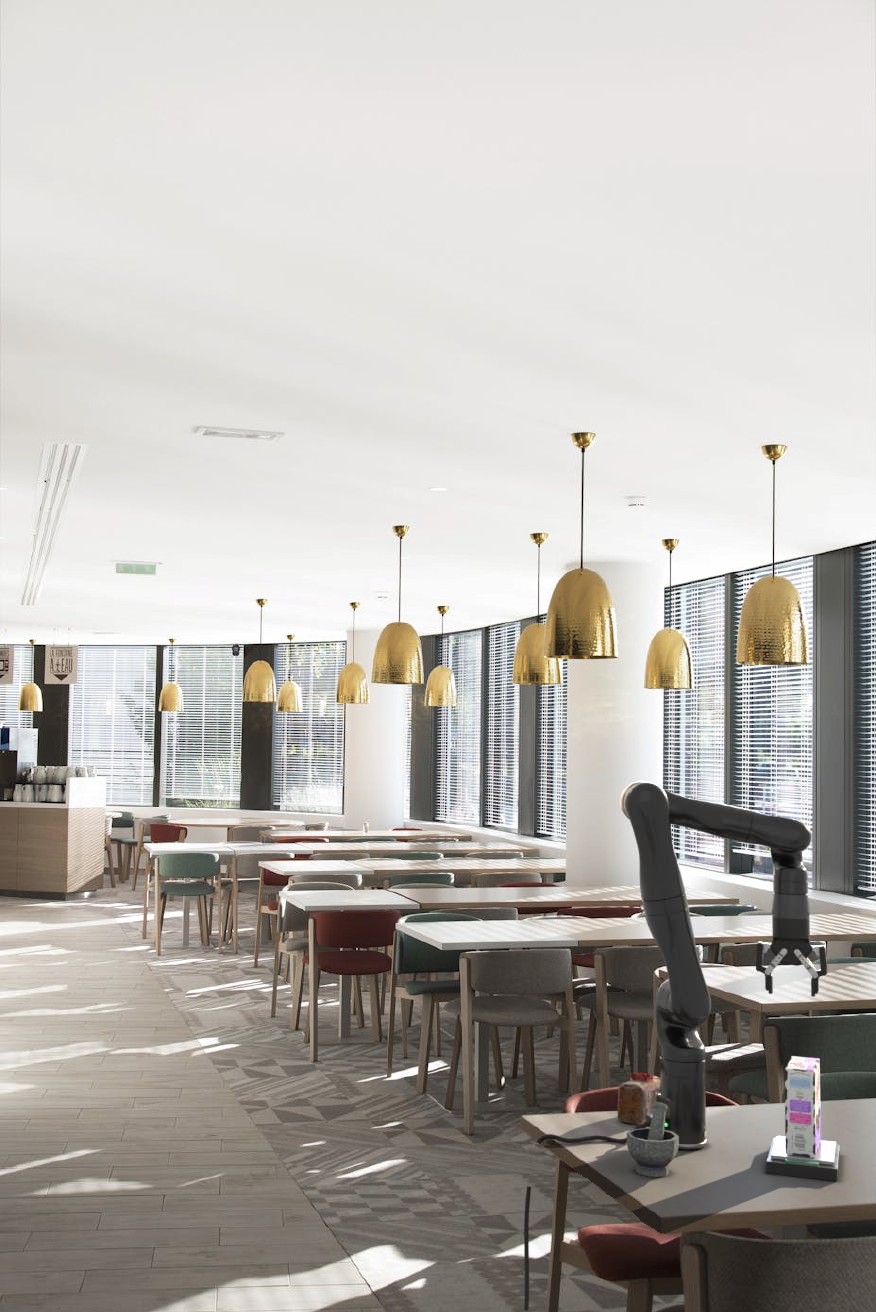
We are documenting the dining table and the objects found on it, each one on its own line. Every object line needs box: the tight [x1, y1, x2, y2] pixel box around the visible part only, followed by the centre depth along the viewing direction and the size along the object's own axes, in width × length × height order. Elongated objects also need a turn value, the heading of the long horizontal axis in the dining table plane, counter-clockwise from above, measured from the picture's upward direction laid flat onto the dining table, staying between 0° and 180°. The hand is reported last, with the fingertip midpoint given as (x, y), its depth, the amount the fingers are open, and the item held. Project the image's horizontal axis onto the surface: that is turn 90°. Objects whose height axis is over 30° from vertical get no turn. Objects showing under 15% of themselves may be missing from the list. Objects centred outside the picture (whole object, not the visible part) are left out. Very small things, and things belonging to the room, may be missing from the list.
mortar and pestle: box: [626, 1102, 679, 1178], centre depth 242 cm, size 11×9×12 cm
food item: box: [617, 1072, 660, 1126], centre depth 281 cm, size 14×8×10 cm, turn 149°
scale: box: [765, 1135, 841, 1182], centre depth 247 cm, size 18×13×3 cm
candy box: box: [784, 1055, 822, 1158], centre depth 249 cm, size 14×6×16 cm, turn 159°
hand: (791, 994), depth 261 cm, fingers open, 8 cm apart
